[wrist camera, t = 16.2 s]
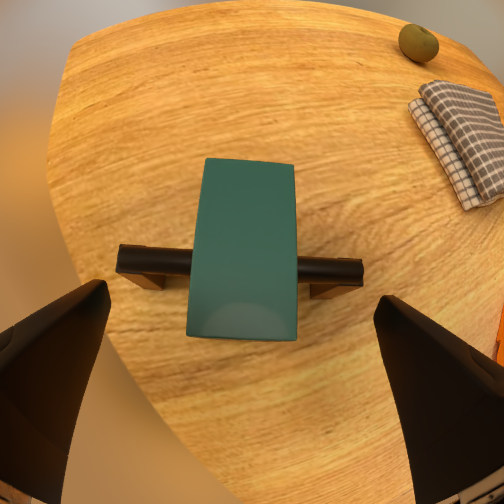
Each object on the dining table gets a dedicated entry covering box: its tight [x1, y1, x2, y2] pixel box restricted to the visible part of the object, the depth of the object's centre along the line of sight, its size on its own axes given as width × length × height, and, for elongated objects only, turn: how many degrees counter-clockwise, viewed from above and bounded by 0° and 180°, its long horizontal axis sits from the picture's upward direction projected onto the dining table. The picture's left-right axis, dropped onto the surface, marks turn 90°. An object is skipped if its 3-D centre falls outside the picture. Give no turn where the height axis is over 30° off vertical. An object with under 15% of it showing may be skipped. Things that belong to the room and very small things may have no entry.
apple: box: [399, 24, 439, 63], centre depth 30 cm, size 8×8×7 cm
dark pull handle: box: [116, 244, 364, 299], centre depth 16 cm, size 2×14×6 cm, turn 88°
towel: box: [408, 80, 504, 211], centre depth 23 cm, size 15×18×8 cm
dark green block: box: [186, 158, 298, 342], centre depth 15 cm, size 8×4×8 cm, turn 178°
